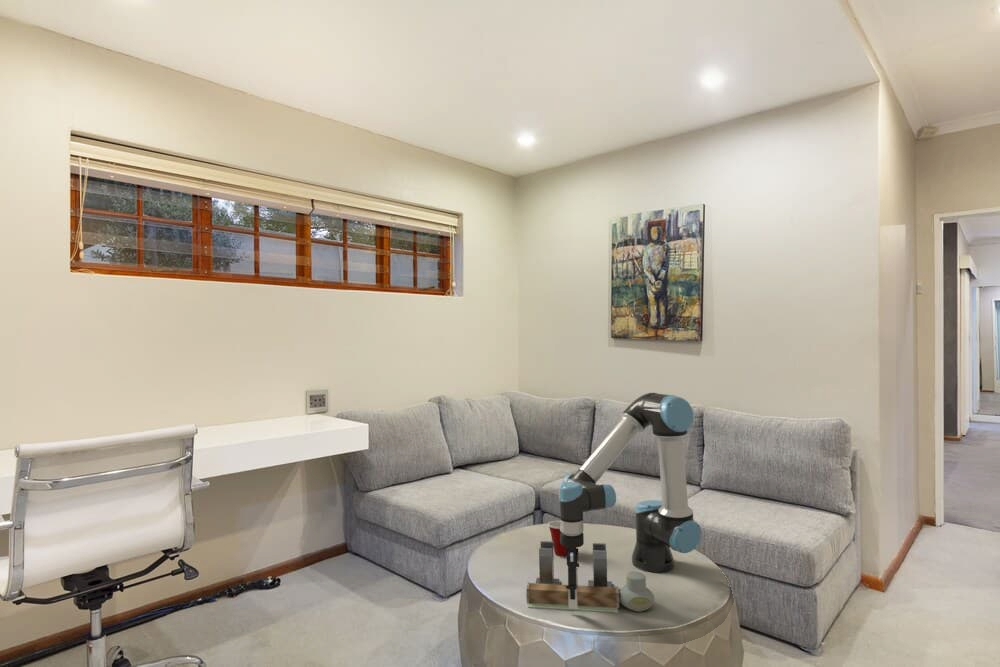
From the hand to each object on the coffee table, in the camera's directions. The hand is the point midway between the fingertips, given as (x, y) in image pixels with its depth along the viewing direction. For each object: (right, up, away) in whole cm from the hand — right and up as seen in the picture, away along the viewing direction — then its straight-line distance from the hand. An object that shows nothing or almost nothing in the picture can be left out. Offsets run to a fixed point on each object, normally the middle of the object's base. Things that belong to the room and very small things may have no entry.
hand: (573, 597), depth 176 cm
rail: (0, -1, 0) cm, 1 cm away
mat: (0, -2, 0) cm, 2 cm away
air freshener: (+20, -2, -3) cm, 20 cm away
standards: (+1, -2, +10) cm, 10 cm away
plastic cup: (+1, -2, +39) cm, 39 cm away
